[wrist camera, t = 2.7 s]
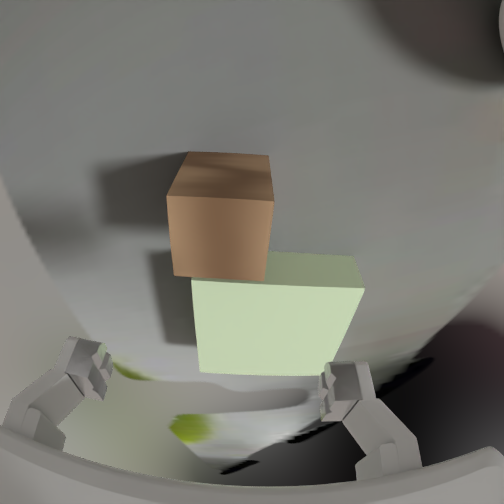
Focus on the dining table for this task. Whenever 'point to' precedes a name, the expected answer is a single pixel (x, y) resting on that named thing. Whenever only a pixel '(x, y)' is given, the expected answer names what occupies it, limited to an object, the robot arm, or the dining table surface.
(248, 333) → the base box
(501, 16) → the ornament
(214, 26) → the dining table surface
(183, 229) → the walnut block
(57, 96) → the dining table surface
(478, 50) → the dining table surface
